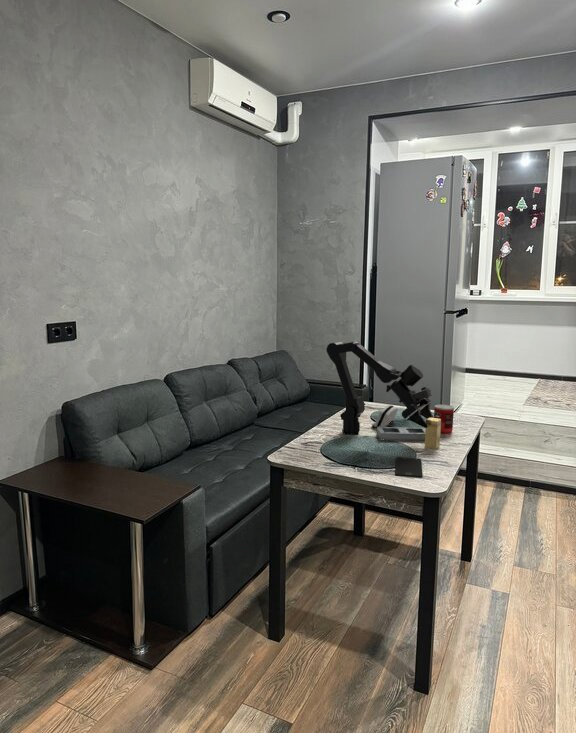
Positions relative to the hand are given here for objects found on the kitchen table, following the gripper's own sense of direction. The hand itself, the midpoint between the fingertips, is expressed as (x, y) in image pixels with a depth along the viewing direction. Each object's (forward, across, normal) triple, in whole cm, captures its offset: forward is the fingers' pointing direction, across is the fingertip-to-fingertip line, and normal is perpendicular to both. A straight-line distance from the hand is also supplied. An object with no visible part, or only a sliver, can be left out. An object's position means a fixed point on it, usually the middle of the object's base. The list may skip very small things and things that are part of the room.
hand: (430, 424), depth 207 cm
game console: (-13, +20, +25) cm, 35 cm away
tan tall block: (+7, 0, +6) cm, 9 cm away
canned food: (+5, +24, +8) cm, 26 cm away
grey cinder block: (-3, +6, +15) cm, 16 cm away
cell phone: (+8, -28, +6) cm, 29 cm away
